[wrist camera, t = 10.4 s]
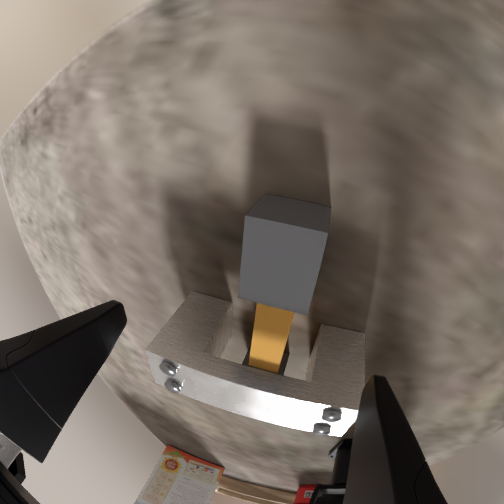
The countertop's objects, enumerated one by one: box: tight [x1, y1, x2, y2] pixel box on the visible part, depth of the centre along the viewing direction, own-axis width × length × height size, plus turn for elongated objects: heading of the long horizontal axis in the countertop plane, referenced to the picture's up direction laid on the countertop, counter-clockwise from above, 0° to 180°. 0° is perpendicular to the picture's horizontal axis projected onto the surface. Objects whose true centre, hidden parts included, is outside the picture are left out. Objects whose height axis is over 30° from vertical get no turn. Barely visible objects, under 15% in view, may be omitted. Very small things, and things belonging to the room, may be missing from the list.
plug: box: [238, 194, 331, 375], centre depth 18 cm, size 15×4×4 cm, turn 175°
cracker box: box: [134, 445, 225, 504], centre depth 39 cm, size 14×6×21 cm, turn 78°
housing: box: [145, 291, 365, 437], centre depth 18 cm, size 4×14×7 cm, turn 86°
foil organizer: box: [215, 476, 296, 504], centre depth 50 cm, size 13×30×4 cm, turn 85°
